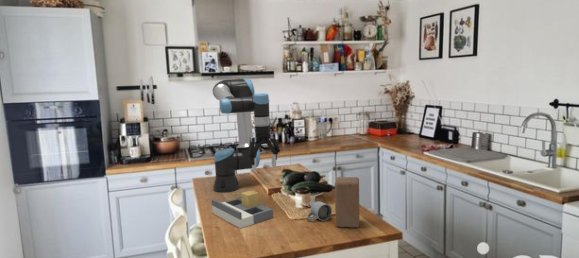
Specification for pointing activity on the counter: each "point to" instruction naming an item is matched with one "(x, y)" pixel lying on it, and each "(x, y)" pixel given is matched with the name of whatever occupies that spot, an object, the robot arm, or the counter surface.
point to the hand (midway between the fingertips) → (264, 169)
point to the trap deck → (241, 212)
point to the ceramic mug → (320, 211)
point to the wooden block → (347, 202)
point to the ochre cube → (250, 198)
